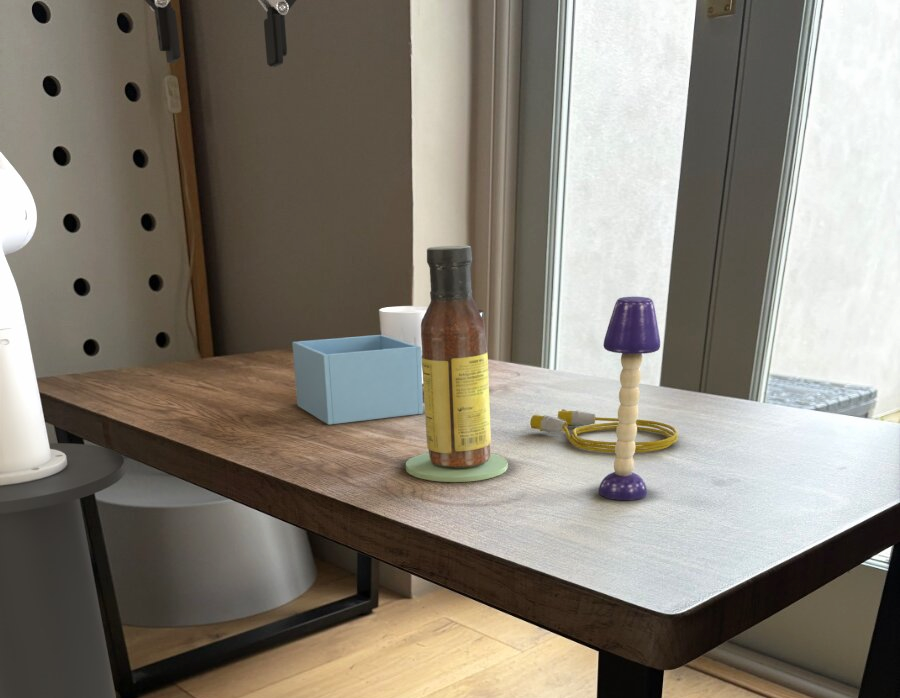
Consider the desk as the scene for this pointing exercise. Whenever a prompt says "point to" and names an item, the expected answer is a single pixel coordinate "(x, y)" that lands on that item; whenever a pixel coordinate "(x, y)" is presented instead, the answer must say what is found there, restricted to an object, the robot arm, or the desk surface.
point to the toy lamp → (629, 388)
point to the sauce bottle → (454, 364)
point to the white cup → (403, 324)
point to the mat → (428, 471)
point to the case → (358, 378)
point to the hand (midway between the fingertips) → (225, 63)
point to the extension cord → (587, 418)
